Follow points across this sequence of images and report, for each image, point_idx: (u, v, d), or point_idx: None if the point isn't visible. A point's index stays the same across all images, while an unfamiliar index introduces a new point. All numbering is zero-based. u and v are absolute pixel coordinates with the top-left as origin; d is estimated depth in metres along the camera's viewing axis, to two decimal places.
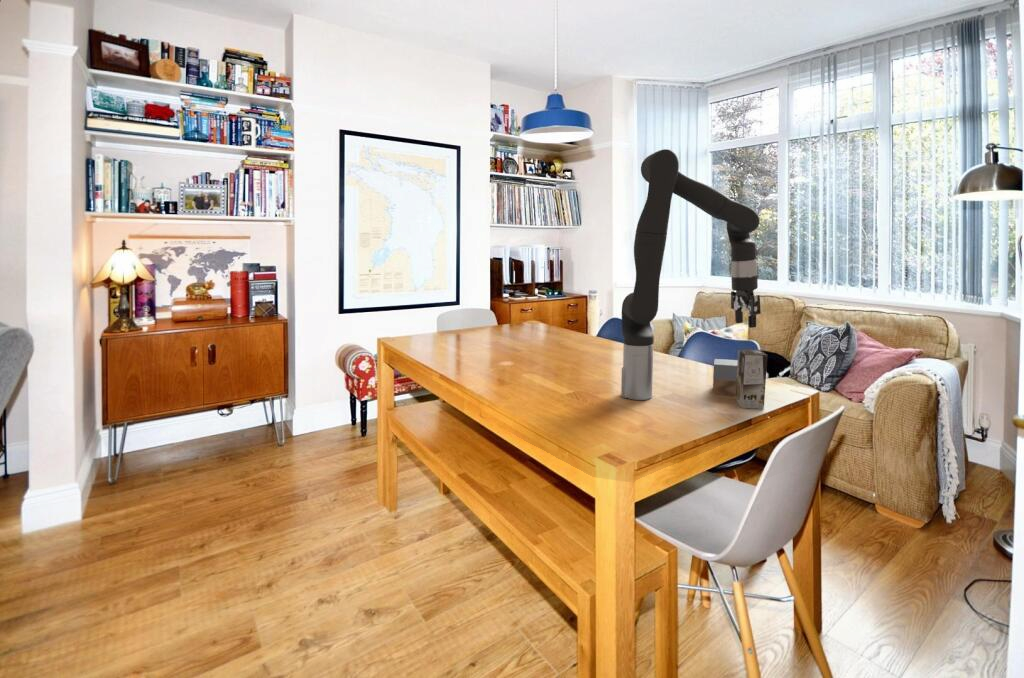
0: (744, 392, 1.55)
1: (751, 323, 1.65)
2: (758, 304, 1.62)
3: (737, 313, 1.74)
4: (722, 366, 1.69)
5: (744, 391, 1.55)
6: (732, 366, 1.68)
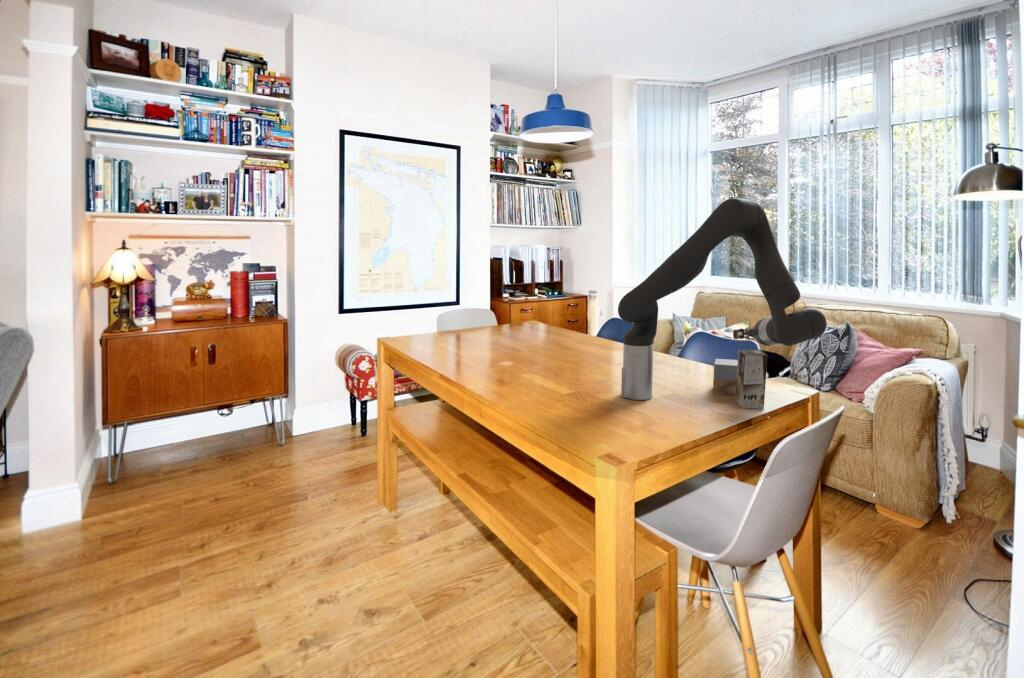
0: (744, 392, 1.55)
1: None
2: (736, 336, 1.46)
3: None
4: (722, 366, 1.69)
5: (744, 391, 1.55)
6: (732, 366, 1.68)
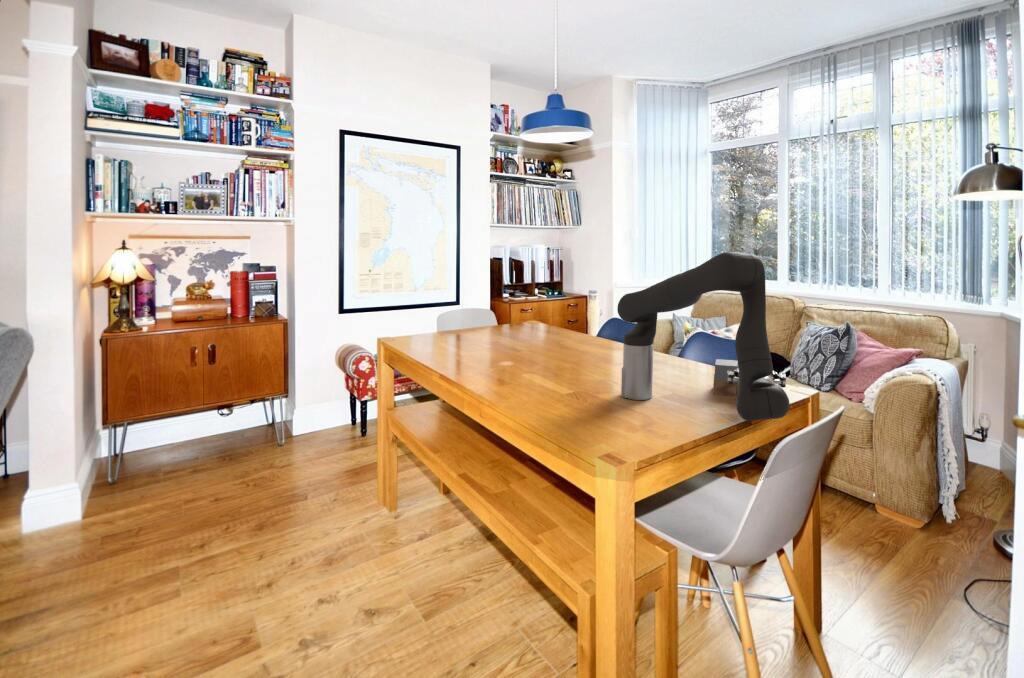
0: None
1: None
2: (727, 379, 1.43)
3: None
4: (723, 366, 1.69)
5: None
6: (733, 366, 1.68)
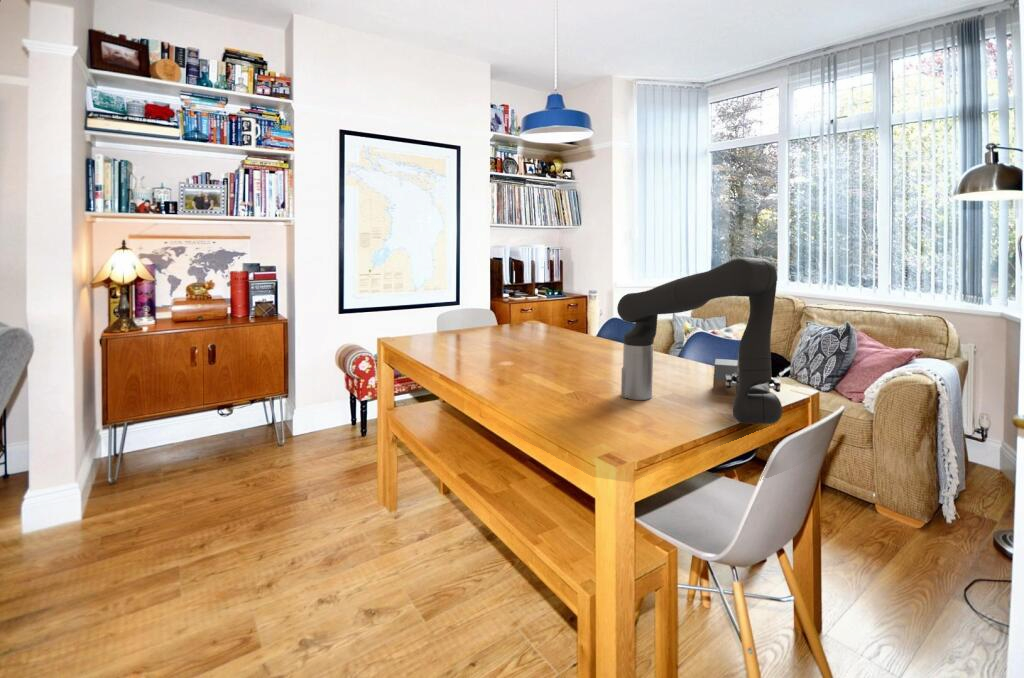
0: None
1: (733, 374, 1.57)
2: (725, 383, 1.52)
3: None
4: (723, 366, 1.69)
5: None
6: (733, 366, 1.68)
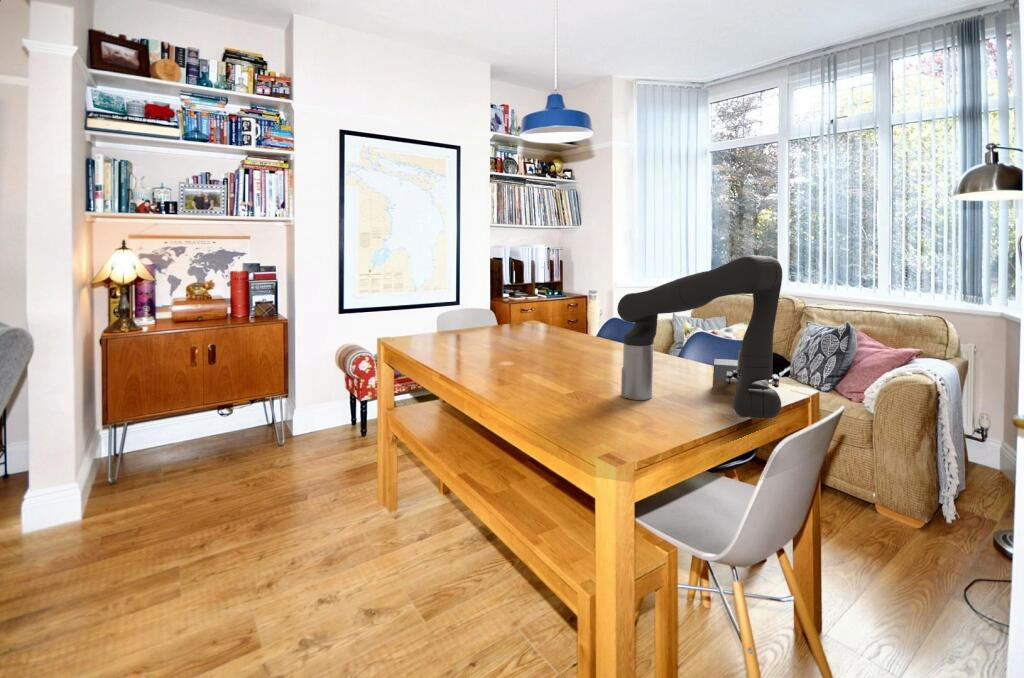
0: None
1: (734, 371, 1.61)
2: None
3: None
4: (722, 366, 1.69)
5: None
6: (732, 366, 1.68)
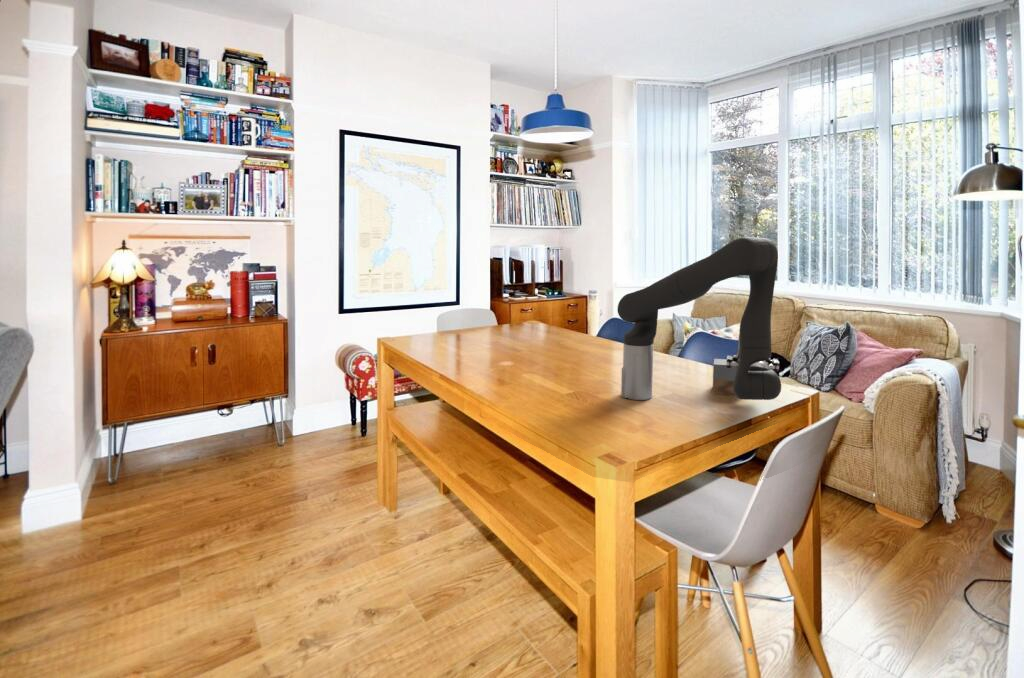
0: None
1: (734, 355, 1.60)
2: None
3: None
4: (722, 366, 1.69)
5: None
6: (732, 366, 1.68)
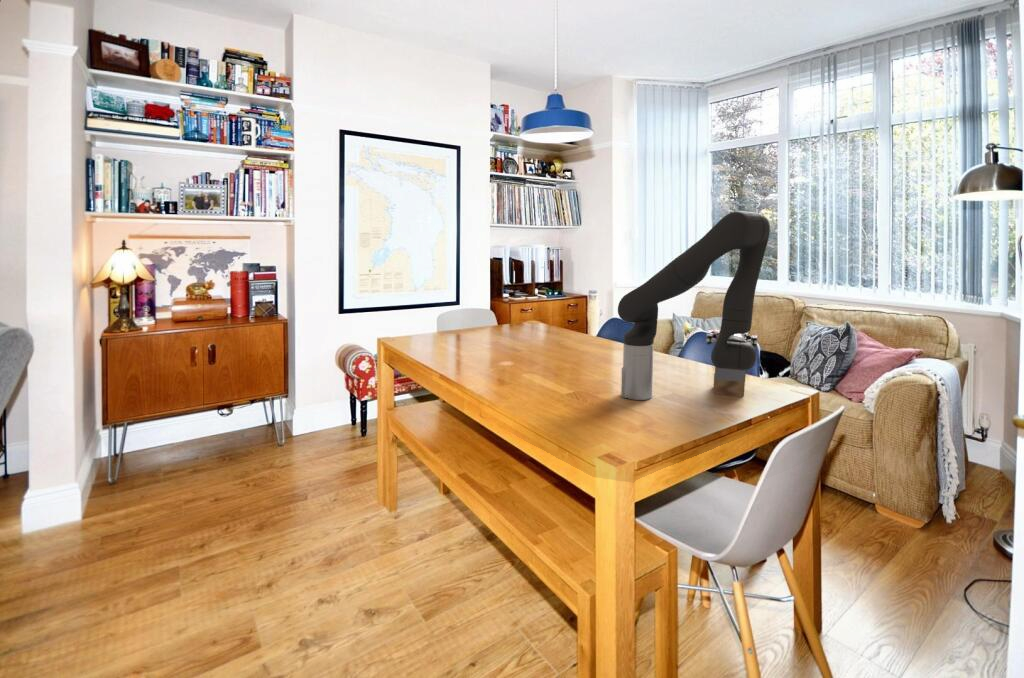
0: None
1: None
2: (706, 340, 1.62)
3: None
4: None
5: None
6: None
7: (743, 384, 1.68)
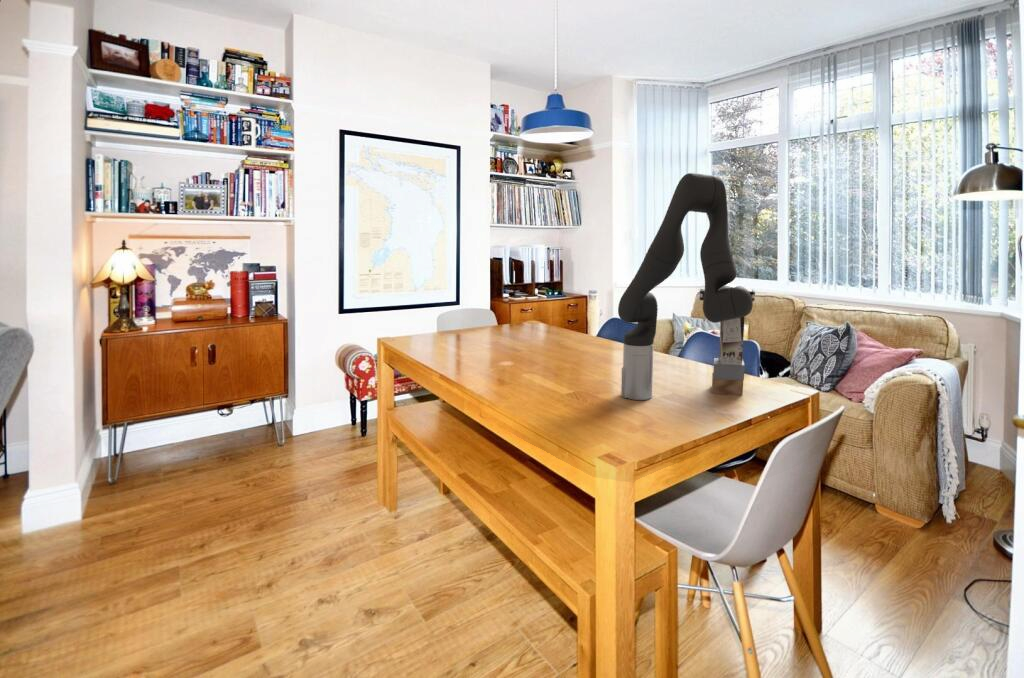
0: (723, 349, 1.69)
1: None
2: (699, 297, 1.47)
3: None
4: (722, 365, 1.70)
5: (723, 348, 1.69)
6: (732, 365, 1.69)
7: (742, 383, 1.69)
